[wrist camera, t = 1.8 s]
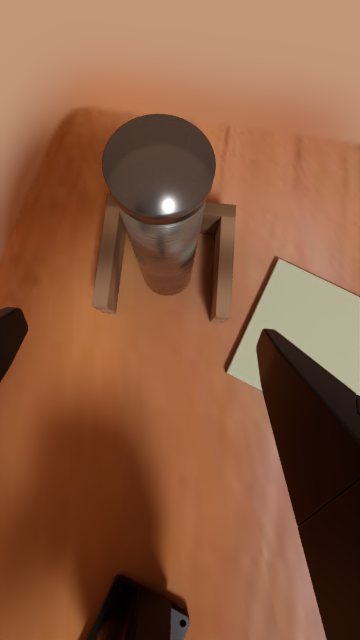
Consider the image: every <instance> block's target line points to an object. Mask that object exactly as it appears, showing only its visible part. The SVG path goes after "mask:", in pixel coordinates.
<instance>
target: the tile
mask: <svg viewBox="0 0 360 640" xmlns="http://www.w3.org/2000/svg"><path fill="white" fill-rule="evenodd" d="M264 328H267V329H275V330H276V331H278V332H279V333H280V334H281V335H283V336H284V337H285V338H286V339H288V340H289V341H290V342H292V343H293V344H294V345H295V346H297V347H298V348H299V349H300V350H302V351H303V352H304V353H306V354H307V355H308V356H309V357H311V358H312V359H313V360H315V361H316V362H317V363H318V364H320V365H321V366H322V367H323V368H325V369H326V370H327V371H329V372H330V373H331V374H332V375H334V376H335V377H336V378H337V379H339V380H340V381H341V382H343V383H344V384H345V385H346V386H348V387H349V388H350V389H352V390H353V391H354V392H355V393H356V395H359V396H360V297H358V296H356V295H354V294H352V293H350V292H348V291H346V290H344V289H342V288H340V287H337V286H335V285H333V284H331V283H329V282H327V281H325V280H323V279H321V278H319V277H316V276H314V275H312V274H310V273H308V272H306V271H304V270H302V269H300V268H298V267H296V266H293V265H291V264H289V263H287V262H285V261H283V260H281V259H278V260H277V262H276V264H275V266H274V268H273V270H272V273H271V275H270V277H269V279H268V281H267V284H266V286H265V288H264V290H263V292H262V294H261V297H260V299H259V301H258V303H257V305H256V308H255V310H254V312H253V314H252V316H251V318H250V321H249V323H248V325H247V327H246V329H245V332H244V334H243V336H242V338H241V340H240V342H239V345H238V347H237V349H236V351H235V353H234V356H233V358H232V360H231V362H230V364H229V366H228V369H227V371H226V373H227V374H229V375H231V376H233V377H235V378H237V379H239V380H241V381H243V382H245V383H247V384H249V385H251V386H253V387H255V388H257V389H259V390H261V391H262V388H261V382H260V375H259V368H258V360H257V353H256V346H257V342H258V340H259V337H260V334H261V331H262V330H263V329H264Z"/></svg>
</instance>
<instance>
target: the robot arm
mask: <svg viewBox="0 0 360 640" xmlns="http://www.w3.org/2000/svg"><path fill="white" fill-rule="evenodd" d="M27 331H28V325H27V322H26V319H25V317H24V314H23V312H22V310H21V309H20V308H15V307H6V308H3V309H0V382H1V380H2V379H3V377H4V376H5V374H6V372H7V371H8V369H9V367H10V366H11V364H12V362H13V360H14V358H15V356H16V354H17V352H18V350H19V348H20V346H21V344H22V342H23V340H24V338H25V336H26V334H27ZM256 353H257V360H258V368H259V375H260V382H261V388H262V392H263V396H264V400H265V403H266V407H267V411H268V415H269V419H270V423H271V427H272V430H273V434H274V438H275V442H276V446H277V450H278V453H279V457H280V461H281V465H282V469H283V473H284V477H285V480H286V484H287V488H288V492H289V496H290V500H291V503H292V507H293V511H294V515H295V519H296V523H297V526H299V527H298V531H299V535H300V539H301V543H302V546H303V550H304V554H305V558H306V562H307V566H308V569H309V573H310V577H311V581H312V585H313V589H314V593H315V596H316V600H317V604H318V608H319V612H320V616H321V619H322V623H323V627H324V631H325V635H326V638H327V640H360V396H359V395H356V393H355V392H354V391H353V390H352V389H350V388H349V387H348V386H346V385H345V384H344V383H343V382H341V381H340V380H339V379H337V378H336V377H335V376H334V375H332V374H331V373H330V372H329V371H327V370H326V369H325V368H323V367H322V366H321V365H320V364H318V363H317V362H316V361H315V360H313V359H312V358H311V357H309V356H308V355H307V354H306V353H304V352H303V351H302V350H300V349H299V348H298V347H297V346H295V345H294V344H293V343H292V342H290V341H289V340H288V339H286V338H285V337H284V336H283V335H281V334H280V333H279V332H278V331H276V330H275V329H267V328H264V329H263V330H262V331H261V334H260V337H259V340H258V342H257V346H256ZM117 583H120V584H121V586H118V585H117ZM182 619H184V620H185V621H181V620H182ZM188 627H189V614H188V612H187V611H185V610H184V609H182V608H180V607H178V606H177V605H175V604H173V603H171V602H169V601H168V600H166V599H164V598H162V597H160V596H159V595H157V594H155V593H153V592H152V591H150V590H148V589H146V588H144V587H143V586H141V585H139V584H137V583H135V582H134V581H132V580H130V579H128V578H127V577H125V576H123V575H117V576H116V577H115V578H114V580H113V582H112V584H111V587H110V589H109V591H108V593H107V595H106V597H105V599H104V601H103V604H102V606H101V608H100V610H99V612H98V614H97V616H96V619H95V621H94V623H93V625H92V627H91V629H90V631H89V633H88V636H87V638H86V640H183V639H184V637H185V634H186V632H187V630H188Z"/></svg>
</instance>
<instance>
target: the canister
mask: <svg viewBox="0 0 360 640" xmlns="http://www.w3.org/2000/svg"><path fill="white" fill-rule="evenodd" d="M215 168H216V161H215V155H214V151H213V148H212V146H211V144H210V142H209V140H208V139H207V137H206V136H205V135H204V134H203V133H202V131H201V130H199V129H198V128H197V127H196V126H194V125H193V124H192V123H190V122H188V121H186V120H184V119H182V118H179V117H176V116H172V115H166V114H150V115H144V116H141V117H137V118H135V119H132V120H130V121H128V122H127V123H125V124H123V125H122V126H121V127H120V128H118V129H117V130H116V131H115V132H114V133H113V135H112V136H111V137H110V139H109V141H108V142H107V144H106V147H105V149H104V153H103V157H102V169H103V174H104V178H105V181H106V183H107V186H108V188H109V191H110V194H111V196H112V198H113V200H114V201H115V203H116V204H117V206H118V209H119V211H120V214H121V217H122V220H123V222H124V225H125V228H126V230H127V233H128V236H129V238H130V241H131V244H132V246H133V249H134V252H135V255H136V257H137V260H138V263H139V265H140V268H141V271H142V273H143V276H144V279H145V281H146V283H147V285H148V286H149V288H150V289H151V290H153V291H154V292H156V293H158V294H161V295H174V294H177V293H179V292H181V291H182V290H183V289H184V288H185V287H186V286H187V284H188V282H189V280H190V276H191V271H192V267H193V262H194V257H195V253H196V248H197V243H198V239H199V234H200V229H201V224H202V220H203V215H204V210H205V206H206V201H207V199H208V197H209V194H210V192H211V188H212V184H213V179H214V175H215Z"/></svg>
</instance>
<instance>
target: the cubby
mask: <svg viewBox="0 0 360 640" xmlns="http://www.w3.org/2000/svg"><path fill="white" fill-rule="evenodd" d="M235 216H236V205H230V204H219V203H208V202H206V206H205V210H204V215H203V220H202V224H201V229H200V233H208V234H215V250H214V266H213V283H212V299H211V315H210V322H220V323H223V322H225V321H226V320H228V319H229V318H231V298H232V278H233V257H234V236H235ZM125 236H126V228H125V225H124V222H123V220H122V217H121V214H120V211H119V209H118V206H117V204H116V203H115V201H114V200H113V198H112V196H111V194H110V193H108V195H107V202H106V209H105V216H104V223H103V230H102V237H101V244H100V251H99V258H98V265H97V272H96V279H95V286H94V293H93V300H92V306H93V307H95V308H96V309H98V310H99V311H101V312H103V313H113V314H116V308H117V300H118V292H119V284H120V276H121V268H122V260H123V252H124V244H125Z"/></svg>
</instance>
